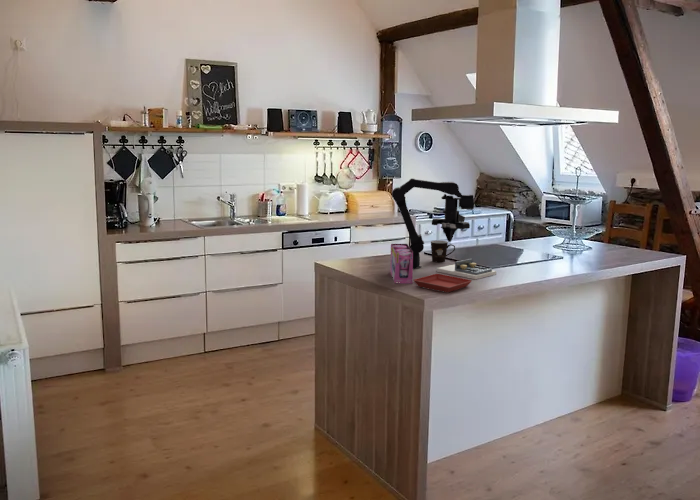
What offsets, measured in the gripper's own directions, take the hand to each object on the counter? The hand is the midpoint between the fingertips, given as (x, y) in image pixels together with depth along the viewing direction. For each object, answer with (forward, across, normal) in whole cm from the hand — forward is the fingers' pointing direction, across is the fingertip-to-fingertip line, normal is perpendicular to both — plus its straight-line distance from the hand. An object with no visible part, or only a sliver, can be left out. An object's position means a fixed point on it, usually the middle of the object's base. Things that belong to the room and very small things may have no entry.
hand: (449, 241), depth 297 cm
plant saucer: (+14, -22, +31) cm, 41 cm away
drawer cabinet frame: (+11, -16, +1) cm, 19 cm away
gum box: (+13, 0, +32) cm, 35 cm away
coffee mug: (+13, +13, -10) cm, 21 cm away
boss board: (+13, -12, +1) cm, 17 cm away
